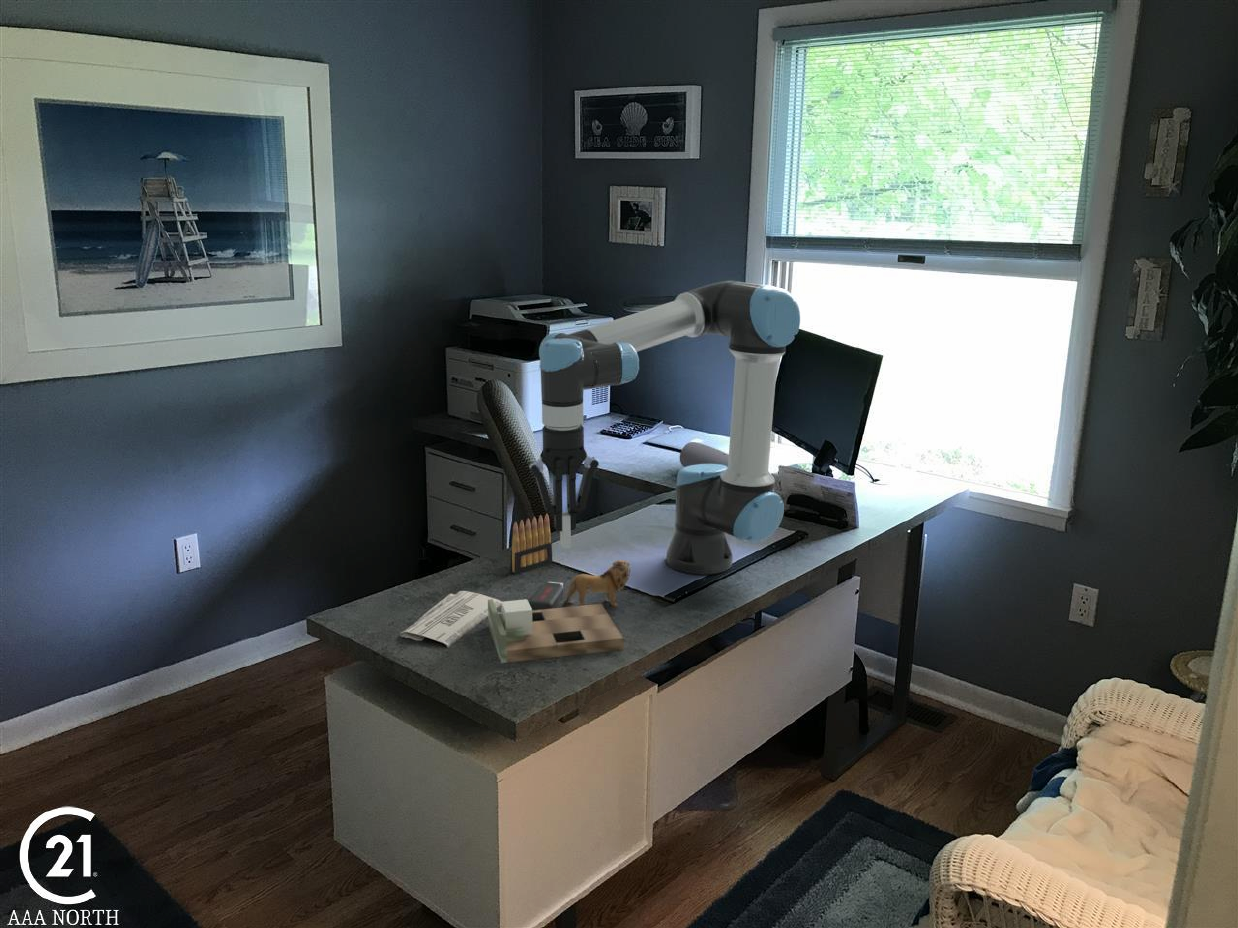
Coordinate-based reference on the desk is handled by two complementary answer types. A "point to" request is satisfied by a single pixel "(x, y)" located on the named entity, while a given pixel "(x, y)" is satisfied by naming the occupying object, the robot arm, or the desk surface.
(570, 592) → the lion figurine
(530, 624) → the cream block
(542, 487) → the robot arm
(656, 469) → the desk surface
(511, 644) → the trap deck
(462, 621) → the newspaper
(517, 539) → the ammunition clip
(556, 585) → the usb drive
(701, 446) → the grey long tapered piece
